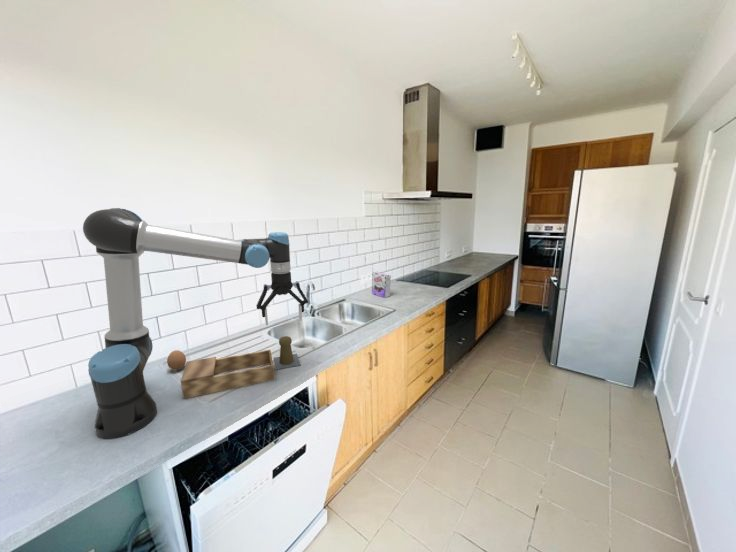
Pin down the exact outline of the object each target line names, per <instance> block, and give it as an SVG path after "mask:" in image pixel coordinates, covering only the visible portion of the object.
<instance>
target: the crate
mask: <svg viewBox="0 0 736 552" xmlns="http://www.w3.org/2000/svg"><path fill="white" fill-rule="evenodd" d="M264 365H265V366H264ZM184 366H185V367H184V369H183V372H182V375H181V378H180V386H181V391H182V398H183V399H188V398H193V397H198V396H203V395H207V394H212V393H216V392H221V391H222V392H223V391H227V390H232V389H235V388H240V387H245V386H246V387H247V386H250V385H255V384H261V383H265V382H269V381H273V380H276V379H275V364H274V359H273V357H272V351H271V349H266V350H260V351H254V352H250V353H243V354H238V355H231V356H225V357H220V358H217V357H216V356H211V357H206V358H200V359H194V360H189V361H186V363H185V365H184ZM259 366H260V367H259ZM231 371H233V372H231ZM227 372H228V373H227ZM221 373H222V374H221ZM215 374H216V375H215ZM202 394H203V395H202Z"/></svg>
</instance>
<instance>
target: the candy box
mask: <svg viewBox="0 0 736 552" xmlns="http://www.w3.org/2000/svg"><path fill="white" fill-rule="evenodd" d="M371 276H372V277H371V294H372V295H373V296H374V295H375V296H377V297H381V298H384V299H386V298H389V297H391V281H392V280H391V279H392V276H391V274H388V273H384V272H380V271H374V272H372V274H371Z"/></svg>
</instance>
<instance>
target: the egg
mask: <svg viewBox="0 0 736 552" xmlns="http://www.w3.org/2000/svg"><path fill="white" fill-rule="evenodd" d="M166 359H167V360H166V364H167V366H168V368H169V369H170V370H172V371H179V370H181V369H183V368H184V366H186V363H187V357H186V355H185V353H184V352H182V351H181V350H179V349H178V350H173V351H171V352H170V353H169V354H168V356H167V358H166Z"/></svg>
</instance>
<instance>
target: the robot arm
mask: <svg viewBox="0 0 736 552" xmlns="http://www.w3.org/2000/svg"><path fill="white" fill-rule="evenodd" d="M82 232H83V235H84V237H85V238H86V240H87V241H88V242H89V243H90V244H92V246H95V251H96V254H98V255H99V256H100V257H101V258H103V264H104V277H105V290H106V299H107V309H108V310H107V311H108V321H109V330H108V331H107V332H106V333H105V334H104V345H105V347H104V348H103V349H102V350H101V351H100V350H99V351H97V352H96V353H94V354H93V355H92V356H91V357H90V359H89V361H88V365H87V366H88V376H89V378H90V381H91V385H92V388H93V393H94V397H95V400H96V404H97V411H96V417H95V421H94V431H95V434H96V435H97V437H99V438H101V439H116V438H121V437H124V436H128V435H130V434H133V433H135V432H137V431H139V430H140V429H142V428H144V427H145V426H147V425H148V424H149V423H151V422H152V420H154V419H155V417H156V416H157V414H158V408H157V403H156V401H155V400H154V399H153V397H152V396H151V395H150V394H149V392H148V391H147V387H146V382H145V377H144V370H145V368H146V365H147V363H148V360H149V358H150V356H151V354H152V352H153V340H152V337H150V330H149V327H147V326H144V319H143V307H142V303H143V302H142V293H141V291H142V289H141V277H140V276H141V275H140V262H139V261H140V259H139V258H140V257H141V255H142V254H144V252H150V253H158V254H166V255H173V256H181V257H190V258H195V259H196V258H197V259H204V260H210V261H211V260H212V261H219V262H226V263H234V264H241V265H247V266H250V267H252V268H255V269H260V268H264V267H265V266H266V265H267V264H268V263H269V261H270V263H269V264H270V271H271V274H270V275H271V278H270V279H271V284H267V283H266V284H263V290H262V293H261V294H260V297H259V299H258V301H257V303H256V309H257V310H261V316H262V318H264V320H265V325H266V326H268V325H269V319H268V309H267V307H268V306H269V304H270V303H271V302H272V301H273V299H274V298H276V296H282V295H283V296H286V295H288V294H289V295H290V296H291V297H292V298H293V299H295V300H296V301H297V303H298V318H299V321H303V313H304V312H305V305H306V304H308V303H309V300H308V298H307V297H306V295H305V294H304V292H303V290H302V289H301V285H300V282H299V281H295V282H292V273H291V253H290V252H291V250H290V245H291V244H290V239H289V238H290V237H289V235H288V233H287V232H283V231H277V232H276V231H275V232H269V233H268V237H266V238H248V239H247V238H242V239H234V238H227V237H222V236H221V237H220V236H216V235H215V236H214V235H209V234H203V233H198V232H192V231H186V230H179V229H176V228H174V229H173V228H169V227H162V226H158V225H153V224H148V223H147V222H146V221H145V220H143V219H142V218H141V217H140V215H138V214H137V213H136V212H134V211H132V210H128V209H126V208H121V207H120V208H119V207H116V208H115V207H112V208H108V209H106V208H105V209H99V210H96V211H94V212H92V213H90V214H89V215H88V216H87V217H86V218H85V219H84V221H83V223H82ZM293 287H294V288H295V289H297V291H298V292H299V294H300V296H301V297H302V299H303V300H302V299H301V298H300V297H299V296H297V294H295V292H293V290H292V288H293ZM270 289H271V290H272V292H270V295H268V297H267V298H266V296H267V293H268V291H270ZM265 298H266V299H265ZM264 300H265V301H264ZM263 301H264V302H263Z"/></svg>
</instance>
